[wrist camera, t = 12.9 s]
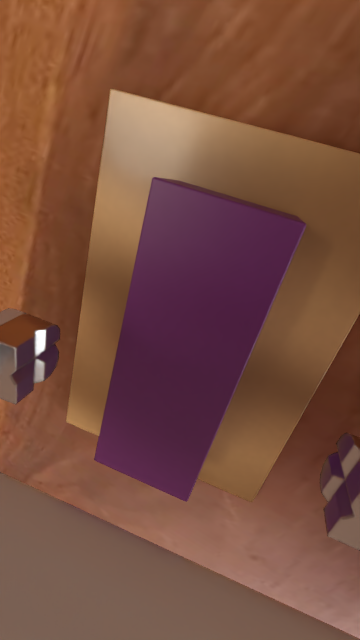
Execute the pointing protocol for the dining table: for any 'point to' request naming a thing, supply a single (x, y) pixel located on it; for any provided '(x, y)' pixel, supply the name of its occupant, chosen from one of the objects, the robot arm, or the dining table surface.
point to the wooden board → (294, 293)
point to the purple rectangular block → (189, 328)
